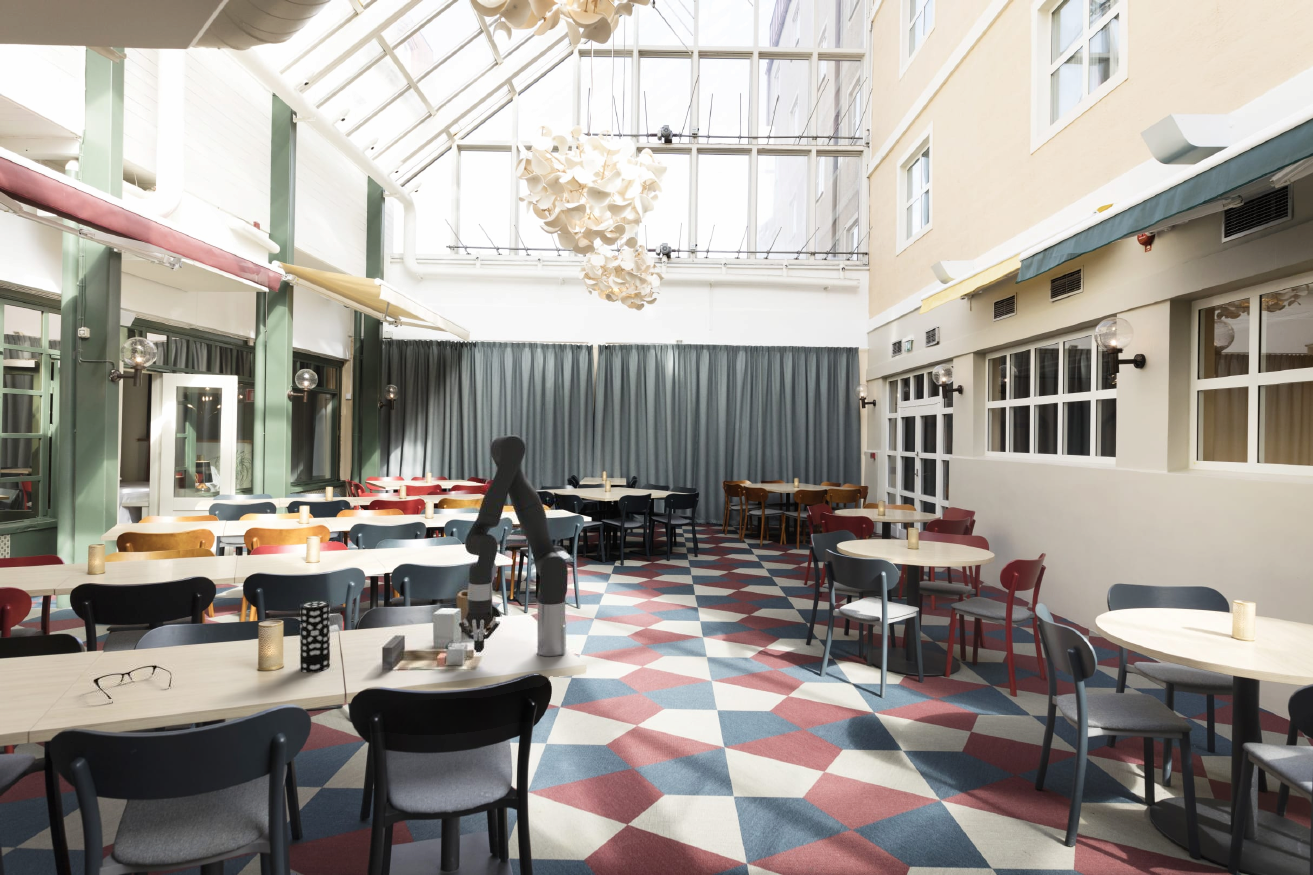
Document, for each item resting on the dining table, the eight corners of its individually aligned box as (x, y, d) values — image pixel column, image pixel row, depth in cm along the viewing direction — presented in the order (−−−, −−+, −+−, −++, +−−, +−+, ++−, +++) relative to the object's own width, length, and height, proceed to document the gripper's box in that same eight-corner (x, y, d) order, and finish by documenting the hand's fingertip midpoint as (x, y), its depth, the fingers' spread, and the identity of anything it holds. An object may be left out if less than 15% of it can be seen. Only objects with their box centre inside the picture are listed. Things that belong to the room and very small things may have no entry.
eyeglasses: (159, 675, 211) (158, 662, 210) (176, 688, 201) (176, 674, 200) (90, 692, 198) (90, 678, 198) (105, 706, 188) (105, 692, 188)
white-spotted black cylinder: (294, 670, 215) (293, 606, 214) (315, 661, 222) (315, 599, 222) (314, 674, 212) (314, 608, 211) (336, 665, 220) (335, 602, 219)
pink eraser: (447, 660, 220) (447, 653, 220) (444, 665, 216) (444, 657, 216) (440, 660, 220) (440, 653, 220) (436, 665, 216) (436, 657, 216)
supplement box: (461, 644, 241) (462, 608, 241) (453, 651, 234) (453, 613, 233) (441, 643, 242) (441, 607, 241) (432, 650, 234) (432, 613, 234)
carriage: (467, 658, 221) (467, 639, 221) (462, 665, 215) (462, 645, 215) (450, 658, 221) (450, 639, 221) (445, 665, 215) (445, 645, 215)
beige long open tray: (483, 660, 224) (483, 634, 224) (475, 674, 212) (475, 646, 212) (395, 661, 223) (395, 635, 223) (382, 675, 211) (382, 647, 211)
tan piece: (453, 635, 251) (453, 594, 251) (454, 625, 263) (454, 586, 262) (496, 632, 255) (497, 591, 255) (495, 623, 267) (495, 584, 266)
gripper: (503, 594, 222) (502, 648, 222) (462, 593, 222) (460, 647, 222) (498, 600, 215) (497, 655, 215) (455, 599, 214) (454, 655, 215)
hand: (478, 651), depth 219 cm, fingers closed
